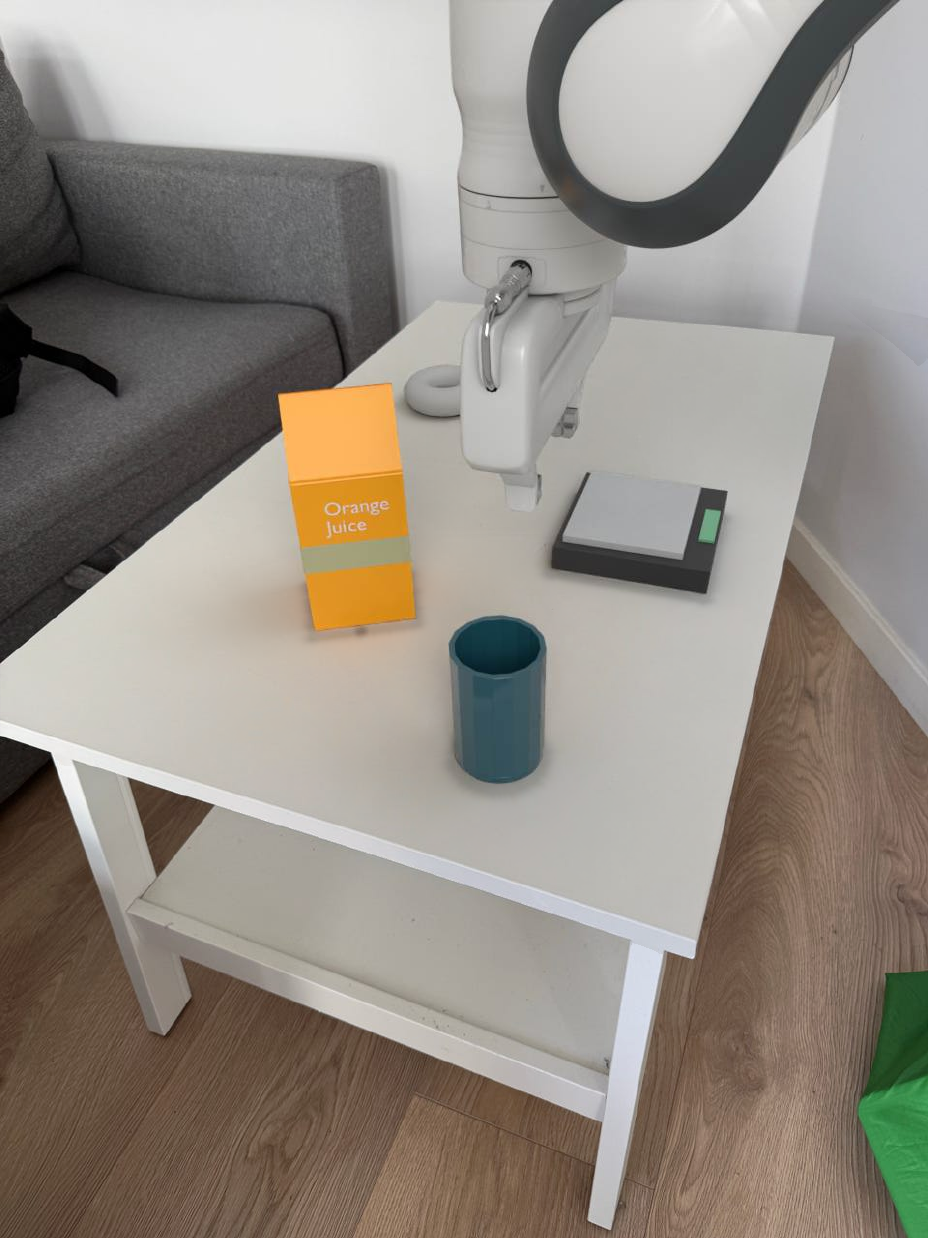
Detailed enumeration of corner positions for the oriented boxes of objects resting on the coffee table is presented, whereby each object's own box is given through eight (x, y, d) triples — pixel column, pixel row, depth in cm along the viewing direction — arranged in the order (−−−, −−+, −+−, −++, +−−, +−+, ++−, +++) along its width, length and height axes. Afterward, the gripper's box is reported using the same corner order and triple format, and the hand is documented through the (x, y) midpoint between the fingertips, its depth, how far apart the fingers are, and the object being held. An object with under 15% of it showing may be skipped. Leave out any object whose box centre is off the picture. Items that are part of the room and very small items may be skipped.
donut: (424, 382, 117) (391, 414, 110) (423, 356, 115) (388, 387, 107) (498, 392, 114) (468, 426, 106) (498, 366, 112) (467, 398, 104)
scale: (724, 511, 90) (729, 483, 88) (706, 593, 80) (711, 564, 78) (585, 492, 94) (586, 464, 92) (551, 568, 84) (552, 539, 82)
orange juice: (416, 618, 79) (397, 404, 66) (314, 631, 78) (275, 416, 65) (407, 567, 85) (388, 361, 72) (311, 578, 84) (276, 372, 72)
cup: (552, 728, 68) (556, 624, 62) (529, 792, 63) (531, 686, 57) (471, 711, 70) (466, 608, 64) (442, 772, 65) (435, 667, 59)
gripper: (551, 307, 40) (551, 567, 48) (638, 188, 55) (626, 402, 63) (417, 299, 42) (440, 551, 50) (537, 186, 57) (539, 394, 65)
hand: (545, 467), depth 57 cm, fingers open, 8 cm apart
